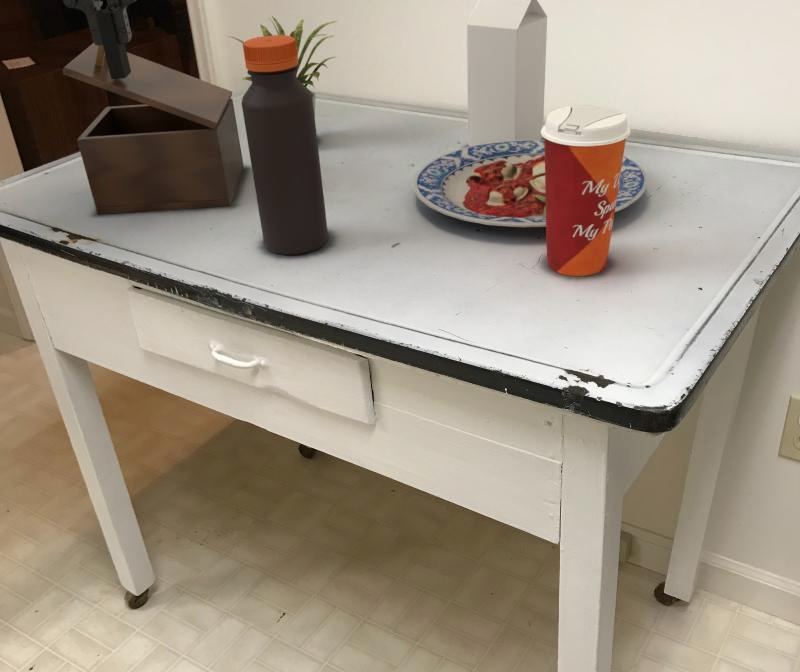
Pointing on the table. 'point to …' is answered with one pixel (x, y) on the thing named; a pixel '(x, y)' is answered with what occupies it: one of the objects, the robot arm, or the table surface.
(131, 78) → the lid
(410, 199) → the table surface
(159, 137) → the chest
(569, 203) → the paper cup
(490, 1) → the milk carton
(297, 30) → the house plant
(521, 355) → the table surface
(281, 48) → the bottle
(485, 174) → the ceramic plate
